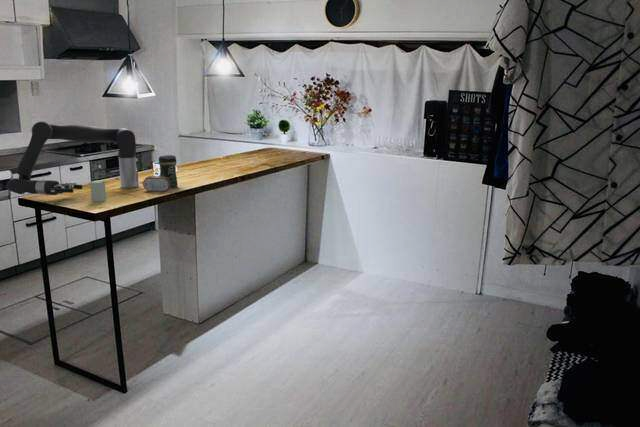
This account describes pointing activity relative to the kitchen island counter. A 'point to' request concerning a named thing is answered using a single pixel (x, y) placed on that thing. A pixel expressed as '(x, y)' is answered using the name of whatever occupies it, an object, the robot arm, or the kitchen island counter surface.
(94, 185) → the sage block
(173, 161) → the coffee jar
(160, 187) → the tin
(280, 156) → the kitchen island counter surface
